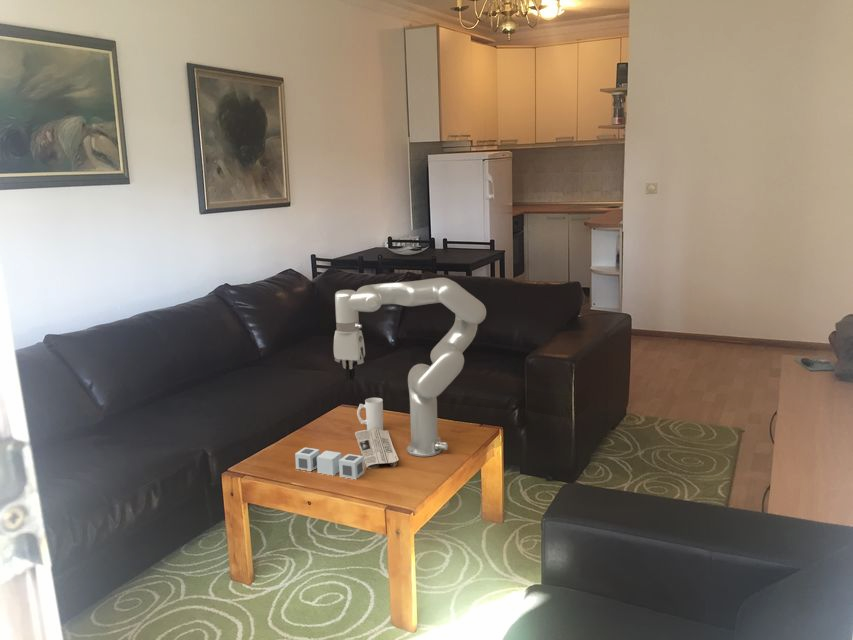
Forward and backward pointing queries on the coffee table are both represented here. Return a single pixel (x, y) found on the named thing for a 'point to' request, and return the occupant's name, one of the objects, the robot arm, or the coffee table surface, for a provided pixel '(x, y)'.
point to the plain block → (328, 462)
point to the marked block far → (307, 459)
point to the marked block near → (351, 466)
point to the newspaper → (376, 447)
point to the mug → (372, 413)
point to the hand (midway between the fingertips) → (350, 379)
